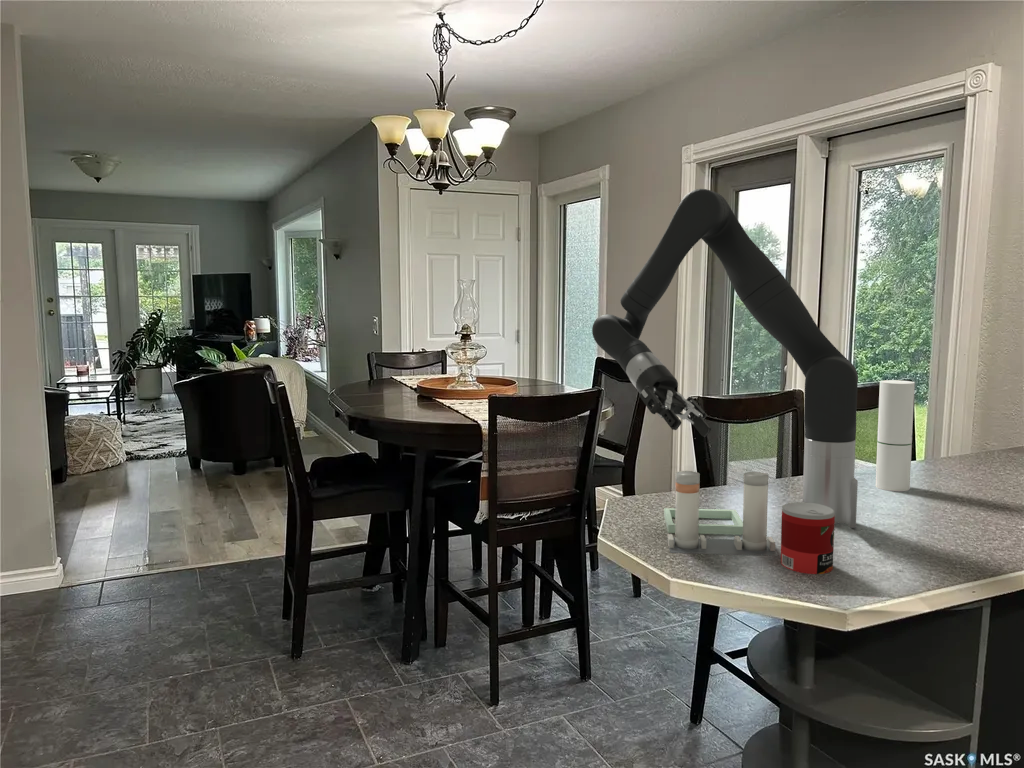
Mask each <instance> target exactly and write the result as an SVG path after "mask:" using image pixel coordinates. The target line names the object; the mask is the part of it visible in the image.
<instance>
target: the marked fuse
mask: <svg viewBox="0 0 1024 768" xmlns="http://www.w3.org/2000/svg"><path fill="white" fill-rule="evenodd" d="M700 475H701V474H700V473H699V472H697V471H694V470H693V471H692V470H679V471H676V472H675V487H674V489H675V506H674V507H675V517H674V519H675V533H674V534H675V535H674V538H675V546H676V547H678V548H681V549H696V548H698V547H699V539H700V536H699V534H698V531H699V524H700V523H699V519H700V518H699V509H700Z"/></svg>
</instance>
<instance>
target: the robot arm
mask: <svg viewBox="0 0 1024 768" xmlns="http://www.w3.org/2000/svg"><path fill="white" fill-rule="evenodd" d="M700 240H702V241H704V243H705V244H706V245H707V246H708V247H709V249H711V251H712V252H713V253H714V254H715V255H716V257H717V258H718V259H719V260H720V262H721V264H722V266H723V268H724V270H725V272H726V274H727V276H728V280H729V281H730V284H731V285H732V287H733V290H734V291H735V293H736V294H737V297H738V298H739V300H740V301H741V302H742V304H743V305H744V307H746V309H747V311H748V312H749V313H750V314H751V316H752V317H753V318H754V319H755V320H756V321H757V322H758V324H760V326H761V327H762V328H763V329H764V330H765V331H766V332H767V333H768V334H770V335H771V336H772V338H774V339H775V340H776V341H777V342H779V344H781V346H782V347H784V348H785V350H787V352H788V353H789V354H790V356H791V357H792V358H793V360H794V361H795V363H796V365H797V366H798V368H799V369H800V371H801V372H802V374H803V376H804V377H805V380H804V394H803V395H804V398H803V399H804V402H803V403H804V404H803V408H804V411H803V426H804V447H803V448H804V449H803V451H804V452H803V477H802V479H803V480H802V481H803V482H802V483H803V485H802V502H806V503H815V504H820V505H824V506H827V507H829V508H831V509H833V510H834V514H835V524H846V525H847V526H848V527H849V528H850V529H856V528H857V510H858V509H857V508H858V486H859V485H858V484H859V483H858V479H857V478H855V468H856V467H855V466H856V464H855V463H856V439H857V407H858V385H859V374H858V371H857V369H856V367H855V366H854V364H853V363H852V362H851V361H850V360H849V359H848V358H846V357H845V355H844V354H843V353H842V352H841V351H840V350H839V349H838V348H837V347H835V346H834V344H833V343H832V342H831V341H830V340H829V339H828V337H827V336H826V335H825V334H824V333H823V332H822V330H821V329H820V328H819V327H818V325H817V324H816V322H815V320H814V318H813V317H812V315H811V313H810V311H809V310H808V309H807V307H806V305H805V304H804V302H803V301H802V300H801V298H800V297H799V295H798V293H797V292H796V291H795V289H794V288H793V286H792V285H791V284H790V282H788V280H787V279H786V277H785V276H784V275H783V274H782V272H781V271H780V270H779V269H778V268H777V267H776V265H775V264H774V263H773V262H772V261H771V259H770V258H768V256H767V255H766V254H765V253H764V252H763V251H762V249H760V248H759V247H758V245H757V244H755V242H754V241H753V240H752V239H751V238H750V236H749V235H748V234H747V232H746V231H745V230H744V227H743V226H742V225H741V223H740V222H739V220H738V218H737V216H736V215H735V213H734V211H733V210H732V208H731V206H730V204H729V203H728V201H727V199H725V197H724V196H722V195H721V193H718V192H716V191H713V190H710V189H708V188H707V189H706V188H698V189H696V188H695V189H693V190H691V191H690V192H688V193H686V194H685V195H684V196H683V198H682V199H681V201H680V202H679V204H678V206H677V208H676V210H675V212H674V214H673V215H672V218H671V219H670V222H669V224H668V226H667V228H666V230H665V232H664V233H663V235H662V236H661V239H660V241H659V242H658V244H657V246H656V247H655V249H654V250H653V251H652V253H651V255H650V256H649V258H648V259H647V260H646V262H645V263H644V265H643V266H642V268H641V270H640V271H639V272H638V274H637V275H636V276H635V278H634V279H633V280H632V282H631V283H630V285H629V286H628V287H627V288H626V290H625V292H624V293H623V294H622V296H621V298H620V305H621V307H622V308H623V309H624V310H625V311H626V313H625V316H624V317H623V318H621V317H619V316H616V315H614V314H609V313H608V314H607V313H605V314H601V315H600V316H598V317H596V319H595V320H594V322H593V323H592V328H591V329H592V330H591V333H592V337H593V340H594V342H595V343H596V344H597V346H599V348H601V350H603V351H604V352H605V353H606V354H608V356H610V357H611V358H612V359H613V360H614V361H616V362H617V363H618V364H619V365H620V367H621V368H622V370H623V371H624V373H625V374H626V375H627V377H628V379H629V381H630V382H631V384H632V385H633V387H635V389H636V390H637V392H638V393H639V395H638V396H639V398H640V399H641V401H642V402H643V404H644V405H645V406H646V407H647V409H648V410H649V412H650V413H651V414H652V415H656V414H657V415H658V416H659V418H661V419H663V420H664V421H665V422H666V424H667V425H668V426H669V427H670V429H671V430H673V431H677V430H678V429H679V428H680V426H681V425H682V421H683V420H684V421H685V420H686V421H688V422H689V423H690V424H692V426H693V427H694V428H695V430H697V432H698V433H699V434H700V435H701V437H704V438H705V437H707V436H708V435H709V434H710V432H711V431H712V427H710V425H709V424H708V422H706V420H705V419H706V418H707V416H708V414H707V413H706V412H705V410H704V409H703V408H702V407H701V406H700V404H699V403H697V402H696V400H695V399H694V398H693V397H691V396H687V399H686V398H685V396H683V394H682V393H680V392H678V391H679V390H678V389H679V387H678V386H679V382H678V380H677V378H676V377H675V376H674V375H673V374H672V372H671V371H670V370H669V368H667V366H666V365H665V364H664V362H662V361H661V359H660V358H658V356H656V355H655V354H654V353H653V352H652V351H651V349H650V348H649V347H648V346H647V344H646V343H644V342H643V341H642V340H641V339H640V337H641V335H642V333H643V329H644V327H645V325H646V323H647V320H648V318H649V315H650V313H651V312H652V311H653V309H654V308H655V307H656V305H657V304H658V302H659V301H660V300H661V298H662V297H663V296H664V294H665V293H666V291H667V290H668V288H669V286H670V284H671V283H672V281H673V279H674V277H675V275H676V272H677V270H678V269H679V267H680V265H681V263H682V262H683V260H684V259H685V257H686V256H687V254H688V253H689V252H690V251H691V250H692V248H694V246H695V245H697V243H698V242H699V241H700ZM683 411H685V412H684V413H682V412H683Z"/></svg>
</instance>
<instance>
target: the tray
mask: <svg viewBox="0 0 1024 768" xmlns="http://www.w3.org/2000/svg"><path fill="white" fill-rule="evenodd" d="M663 517H664V521H665V525H666V530H667V534H675V523H674V521H673V518H675V508H673V507H672V508H671V507H670V508H667V507H664V508H663ZM699 519H725V520H726V519H729V520H730V519H731V521H732V523H733V524H719V523H718V524H717V523H715V524H714V523H710V524H709V523H699V531H698V535H734V536H739V535H741V536H743V519H742V518H741V517H740V515H739V514H738V511H737V510H736V509H725V508H724V509H723V508H722V509H721V508H720V509H719V508H718V509H715V508H714V509H713V508H712V509H711V508H699Z"/></svg>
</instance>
